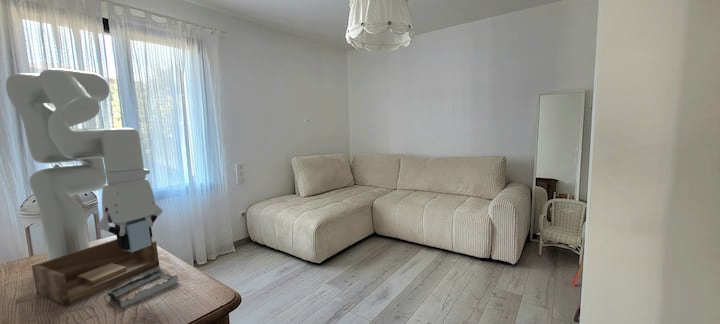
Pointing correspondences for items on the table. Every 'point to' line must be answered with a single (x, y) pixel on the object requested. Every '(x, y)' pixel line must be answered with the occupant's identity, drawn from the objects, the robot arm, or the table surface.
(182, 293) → the table surface
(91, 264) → the crate
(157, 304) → the table surface
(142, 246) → the block
